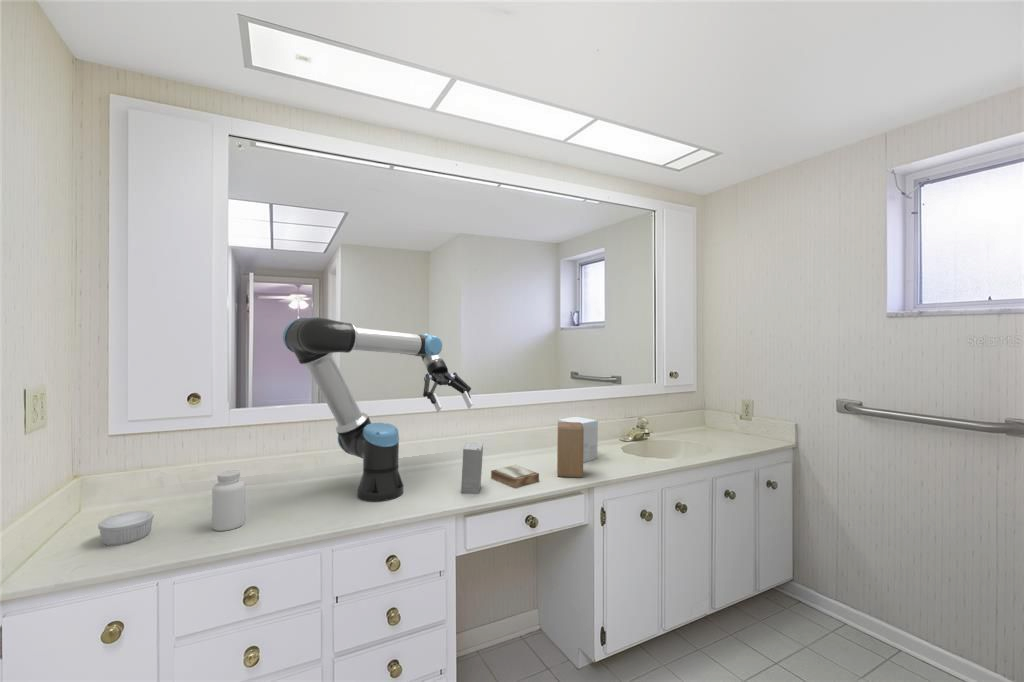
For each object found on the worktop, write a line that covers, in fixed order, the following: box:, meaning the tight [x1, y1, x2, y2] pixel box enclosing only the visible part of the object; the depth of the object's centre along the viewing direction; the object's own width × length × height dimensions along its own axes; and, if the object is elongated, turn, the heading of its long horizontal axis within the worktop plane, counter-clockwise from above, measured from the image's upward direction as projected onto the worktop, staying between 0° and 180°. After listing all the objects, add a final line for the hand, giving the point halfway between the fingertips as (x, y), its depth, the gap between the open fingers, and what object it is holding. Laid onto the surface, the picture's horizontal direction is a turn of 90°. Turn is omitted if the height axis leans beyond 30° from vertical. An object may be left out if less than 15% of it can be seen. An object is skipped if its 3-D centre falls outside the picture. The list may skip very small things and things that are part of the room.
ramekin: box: [97, 509, 155, 546], centre depth 117 cm, size 11×11×5 cm
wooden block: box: [556, 422, 584, 479], centre depth 175 cm, size 10×10×20 cm
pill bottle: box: [211, 470, 247, 532], centre depth 125 cm, size 8×8×15 cm
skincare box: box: [460, 442, 484, 494], centre depth 156 cm, size 8×7×16 cm
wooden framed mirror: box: [490, 464, 540, 489], centre depth 167 cm, size 12×14×3 cm
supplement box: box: [557, 416, 599, 464], centre depth 199 cm, size 13×13×18 cm
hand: (455, 408), depth 165 cm, fingers open, 13 cm apart
